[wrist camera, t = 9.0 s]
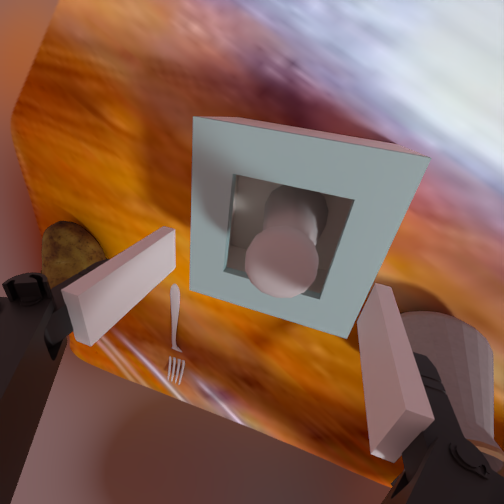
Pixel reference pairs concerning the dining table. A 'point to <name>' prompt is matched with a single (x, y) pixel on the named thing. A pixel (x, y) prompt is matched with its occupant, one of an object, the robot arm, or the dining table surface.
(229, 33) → the dining table surface
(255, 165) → the drop box
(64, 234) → the potato
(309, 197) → the salt shaker
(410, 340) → the coffee pot
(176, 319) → the fork
